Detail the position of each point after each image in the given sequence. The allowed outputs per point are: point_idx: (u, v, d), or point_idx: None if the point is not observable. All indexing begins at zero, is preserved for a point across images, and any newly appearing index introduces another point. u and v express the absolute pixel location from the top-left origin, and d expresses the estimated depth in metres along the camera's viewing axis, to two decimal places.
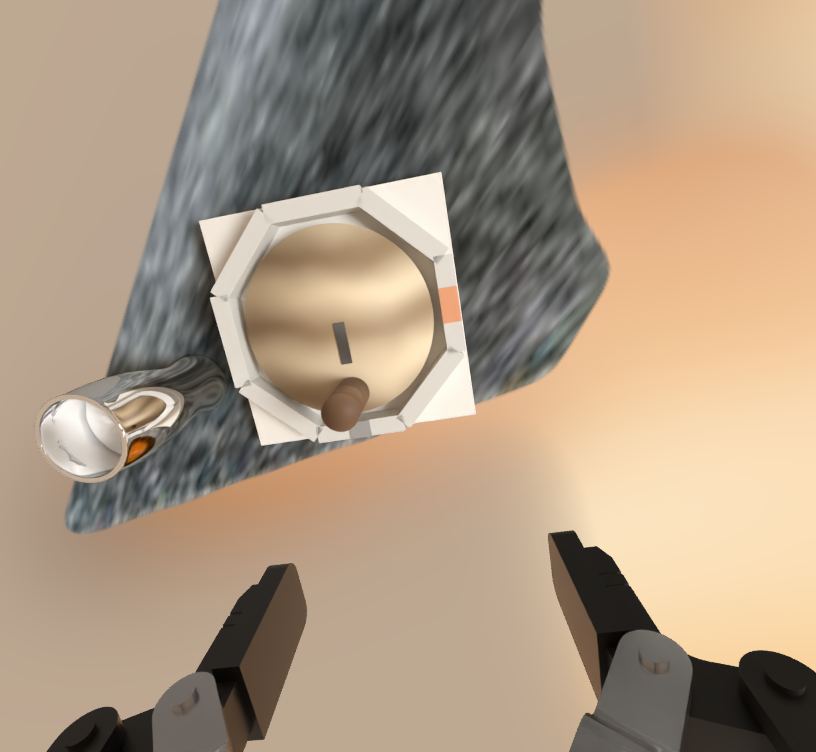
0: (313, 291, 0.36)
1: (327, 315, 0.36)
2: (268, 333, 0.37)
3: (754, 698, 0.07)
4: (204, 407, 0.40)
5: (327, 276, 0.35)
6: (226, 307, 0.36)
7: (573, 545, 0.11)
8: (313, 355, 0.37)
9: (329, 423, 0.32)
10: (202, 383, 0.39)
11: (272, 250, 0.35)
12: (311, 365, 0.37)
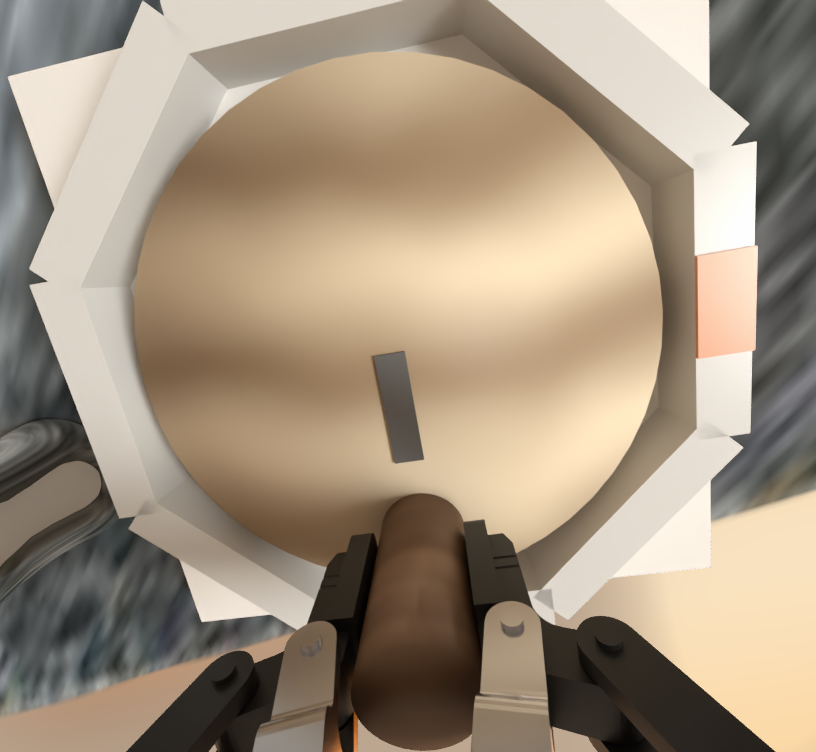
0: (320, 265, 0.13)
1: (359, 333, 0.13)
2: (198, 382, 0.14)
3: (593, 665, 0.08)
4: (56, 552, 0.16)
5: (361, 222, 0.12)
6: (76, 313, 0.13)
7: (479, 532, 0.12)
8: (320, 438, 0.14)
9: (379, 723, 0.09)
10: (42, 501, 0.15)
11: (200, 144, 0.12)
12: (314, 463, 0.14)
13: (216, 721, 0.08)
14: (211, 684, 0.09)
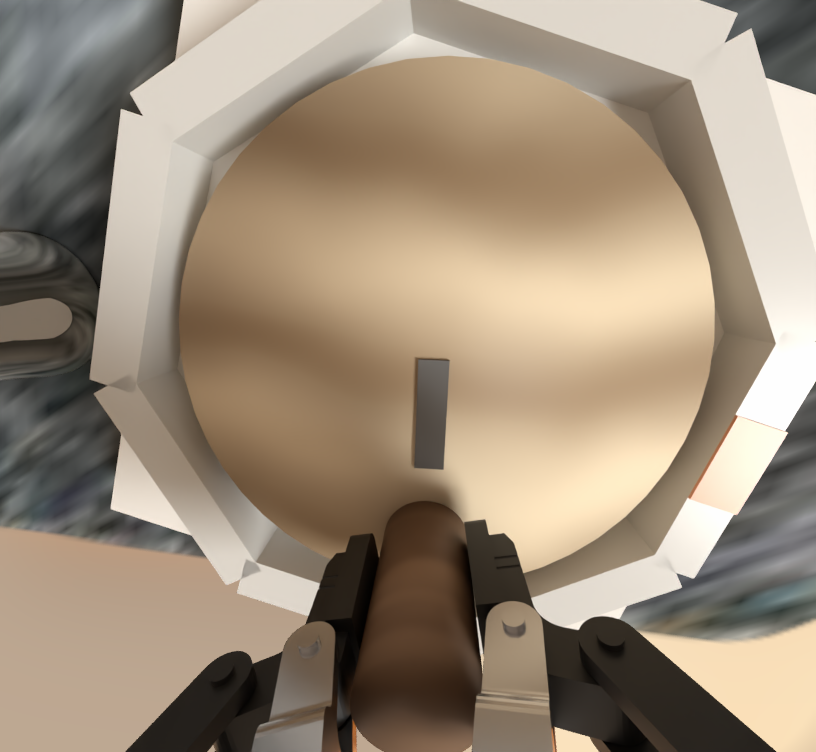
0: (386, 258, 0.12)
1: (408, 334, 0.13)
2: (235, 348, 0.13)
3: (595, 664, 0.08)
4: None
5: (437, 224, 0.12)
6: (156, 163, 0.12)
7: (480, 532, 0.12)
8: (344, 428, 0.14)
9: (372, 727, 0.09)
10: (13, 322, 0.14)
11: (292, 111, 0.12)
12: (333, 451, 0.14)
13: (214, 722, 0.08)
14: (209, 685, 0.09)
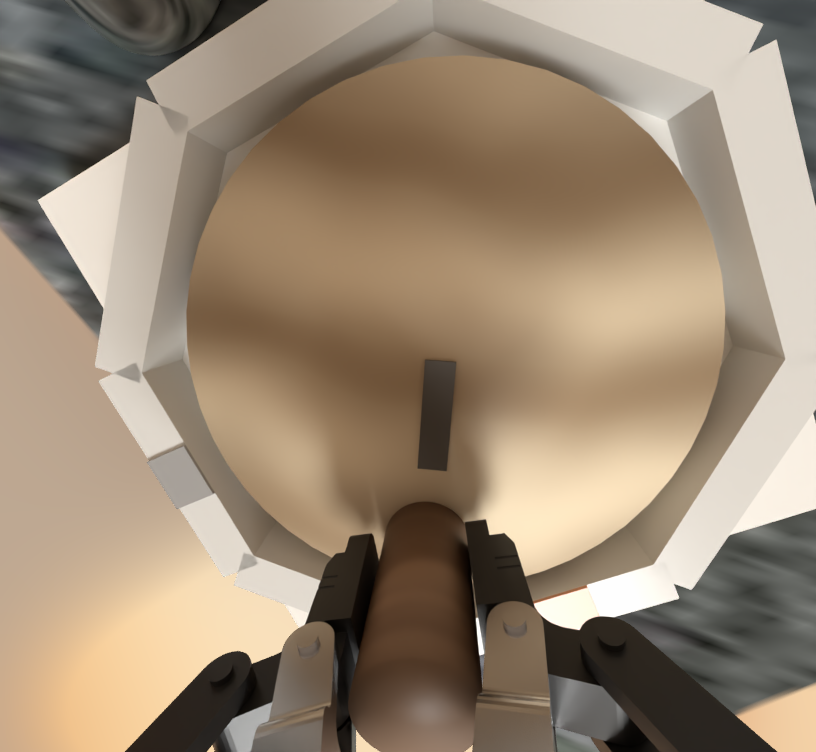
0: (396, 257, 0.12)
1: (415, 334, 0.13)
2: (241, 343, 0.13)
3: (596, 665, 0.08)
4: None
5: (447, 225, 0.12)
6: None
7: (481, 532, 0.12)
8: (349, 427, 0.14)
9: (370, 726, 0.09)
10: None
11: (306, 107, 0.12)
12: (337, 449, 0.14)
13: (213, 722, 0.08)
14: (209, 685, 0.09)
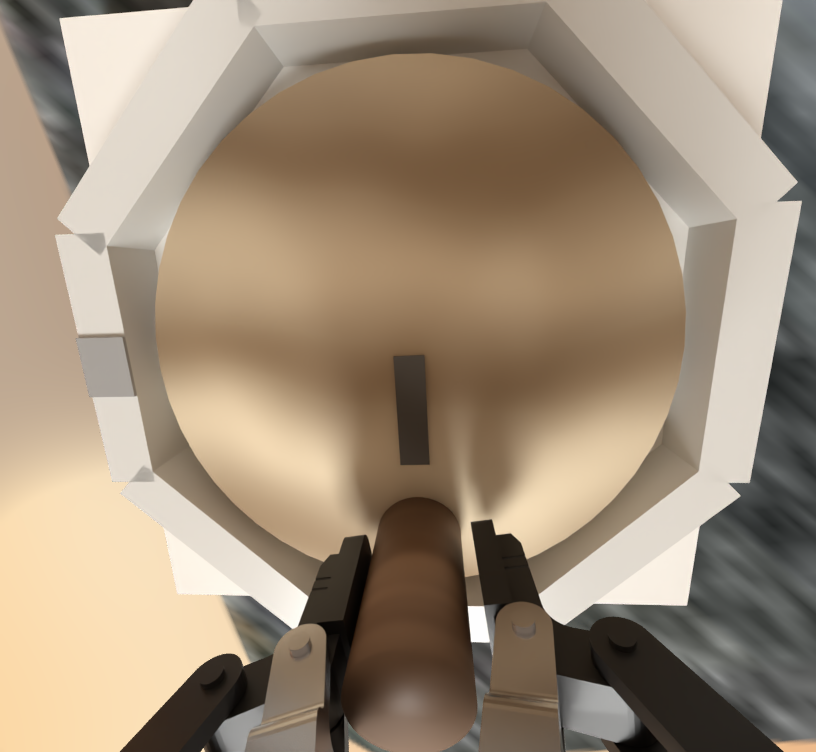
0: (351, 259, 0.12)
1: (381, 332, 0.13)
2: (213, 361, 0.14)
3: (606, 665, 0.08)
4: None
5: (398, 221, 0.12)
6: None
7: (487, 532, 0.12)
8: (328, 431, 0.14)
9: (366, 723, 0.09)
10: None
11: (245, 123, 0.12)
12: (319, 455, 0.14)
13: (205, 724, 0.08)
14: (200, 688, 0.09)
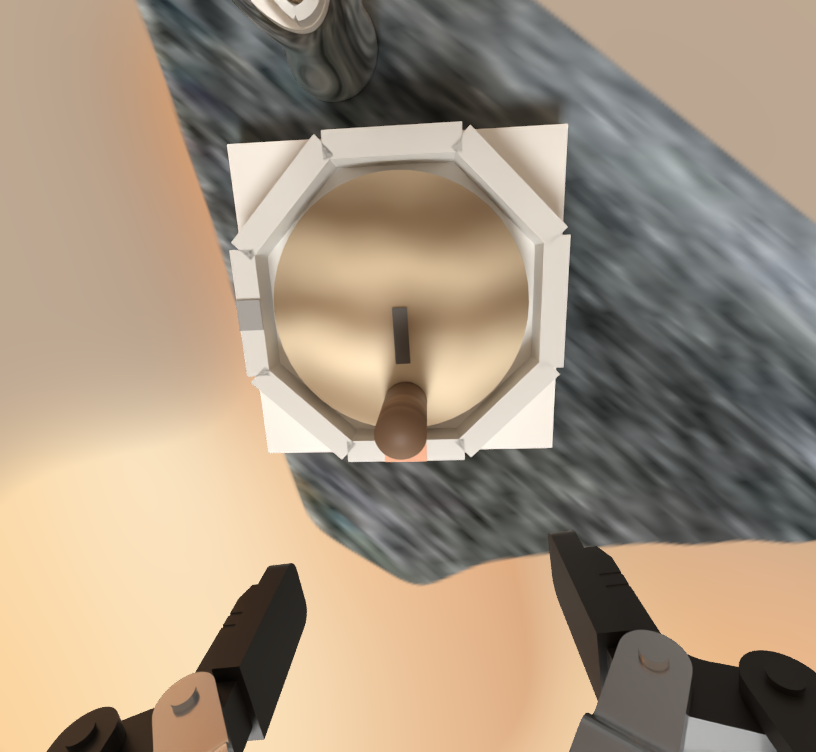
0: (371, 261, 0.26)
1: (385, 296, 0.27)
2: (302, 312, 0.27)
3: (754, 698, 0.07)
4: (291, 60, 0.24)
5: (393, 243, 0.26)
6: (443, 145, 0.24)
7: (573, 545, 0.11)
8: (359, 347, 0.28)
9: (383, 445, 0.23)
10: (331, 68, 0.24)
11: (323, 199, 0.26)
12: (354, 360, 0.28)
13: None
14: None
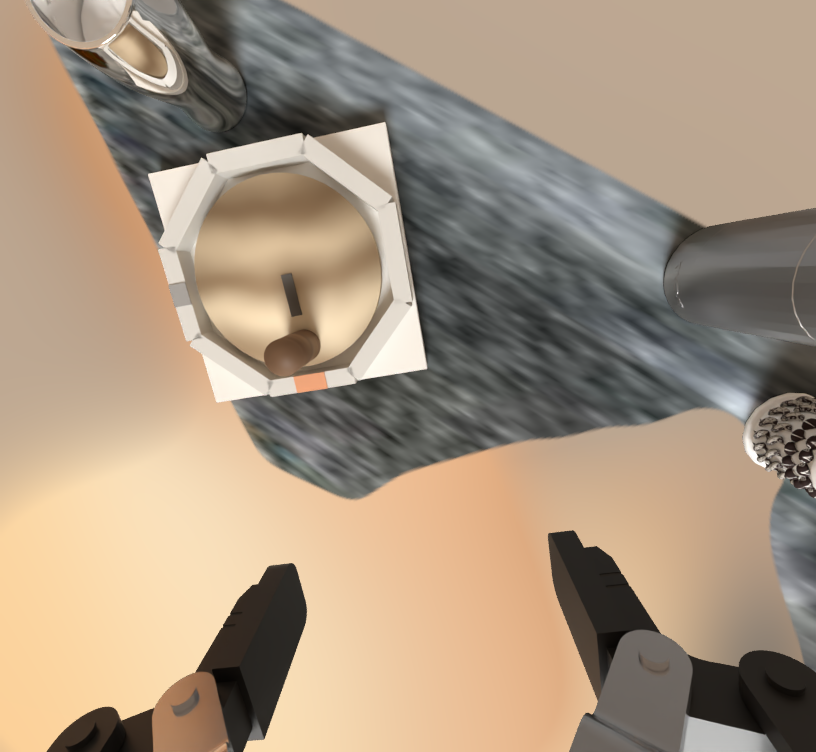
0: (260, 242, 0.36)
1: (275, 267, 0.36)
2: (217, 287, 0.37)
3: (754, 698, 0.07)
4: None
5: (272, 227, 0.36)
6: (292, 151, 0.34)
7: (573, 545, 0.11)
8: (263, 308, 0.37)
9: (272, 367, 0.32)
10: (207, 110, 0.34)
11: (217, 202, 0.35)
12: (262, 318, 0.38)
13: None
14: None
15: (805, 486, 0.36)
